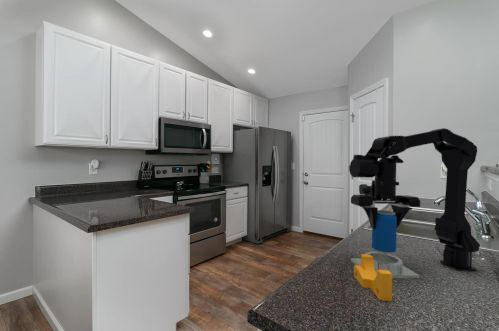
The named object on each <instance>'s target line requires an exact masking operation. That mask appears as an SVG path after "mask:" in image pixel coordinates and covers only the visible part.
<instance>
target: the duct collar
mask: <svg viewBox="0 0 499 331" xmlns="http://www.w3.org/2000/svg"><path fill="white" fill-rule="evenodd" d="M364 254H368V255H371V256H372V257H373V262H374V268H375V271H376V274H377V270H388V271H390V272H391V273H392V279H420V276H421V275H420V274H418V273H416V272H415V271H413V270H411V269H410V268H408V267H407V266H405V265H403V260H402V259H401V258H399V257H397V256H396V255H393V254H382V253H378V252H376V251H369V252H366V253H364ZM350 262H351V263H353V264H354V265H359V266H361V257H360V258H355V257H354V258H350Z"/></svg>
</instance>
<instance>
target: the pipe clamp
mask: <svg viewBox="0 0 499 331" xmlns="http://www.w3.org/2000/svg"><path fill="white" fill-rule="evenodd" d="M360 258H361V266H359V265H355V264H354V265H353V278H355V280H356V281H357V282H358V283H359V284H360V286H361V288H363V289H370V290H371V291H372V292H373V294H374V295H375V296H376V297H377V298H378V299H379V301H382V302H383V301H385V302H392V301H393V278H392V273H391V272H390V271H388V270H377V274H376V271H375V268H374V262H373V257H372V256H371V255H368V254H365V253H361V254H360Z"/></svg>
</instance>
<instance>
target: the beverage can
mask: <svg viewBox="0 0 499 331" xmlns="http://www.w3.org/2000/svg"><path fill="white" fill-rule="evenodd" d="M397 230H398V228H397V217H396V215H395V213H394V212H393V211H391V210H384V209H383V210H382V209H381V210H380V209H379V210H377V219H376V226H375V229H372V228H371V248H372V249H373V250H374V252H378V253H382V254H390V255H393V254H394V253H395V252H397Z"/></svg>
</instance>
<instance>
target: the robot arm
mask: <svg viewBox="0 0 499 331" xmlns="http://www.w3.org/2000/svg"><path fill="white" fill-rule="evenodd" d="M428 144H429V145H430V144H432V145H433V146H434V149H435V151H437V152H438V153H440V154H441V162H442V163H443V165H444V166H445V168H446V179H445V180H446V182H445V193H444V194H445V196H444V208H443V209H444V210H443V211H444V212H443V214H442V215H441V216H440V217H435V224H434V225H435V226H434V228H433V229H434V231H435V234H436V236H437V237H438V241H439V243H440V244H444V249H443V255H442V256H443V257H442V258H443V260H440V261H439V263H442V264H444V265H446V266H448V267H450V268H452V269H454V270H457V271H477V268H476V267H474V266H472V257H473V253H476V252H479V250H480V247H481V244H480V242H478V241H477V239H476V238H475V237H474V236H473V235H472V227H471V224H470V223H469V220H468V219H467V217H466V205H467V204H466V201H467V186H468V173H469V169H470V168H471V167H472V166H473V164H474V163H475V162H476V159H477V153H478V147H477V145H476V144H474V142H473V141H470V139H468V138H466V137H464V136H462V135H459V134H457V133H454V132H453V131H451V130H450V129H448V128H437V129H432V130H429V131H425V132H420V133H414V134H409V135H407V136H406V135H386V136H381V137H377V138H375V139H374V140H373V142H372V144H371V146H370V148H369V149H368V151H367V152H366V154H365V155H363V154H354V155H353V158H352V160H351V161H350V164H349V167H348V170H349V174H350V176H351V177H352V178H369V179H370V178H374V180H372V181H371V185H368V184H366V183H365V184H364V183H361V184H359V185H358V186H359V188H358V191H359V194H353V195H351V197H350V204H352V205H355V206H357V207H360V208H362V209H363V210H364V211H365V214H366V217H367V220H368V221H369V224H370V227H371V230H372V229H375V226H376V219H377V210H378V209H379V208H378V207H376V204H377V205H379V204H386V205H387V204H388V205H390V207H391V209H392V212H394V213H395V215H396V217H397V229H398V227H399V226H400V224H401V223H402V221H403V219H404V218H405V216H406V215H407V214H408V213H409V211H413V208H421V200H420V197H418V196H413V195H406V194H405V195H402V194H401V195H399V194H397V186H400V182H399V181H397V164H403V163H404V162H405V161H404V160H403V159H401V158H400V157H399V155H398V154H401V153H403V152H405V151H407V150H408V149H410V148H414V147H415V148H416V147H419V146H424V145H428Z"/></svg>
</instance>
